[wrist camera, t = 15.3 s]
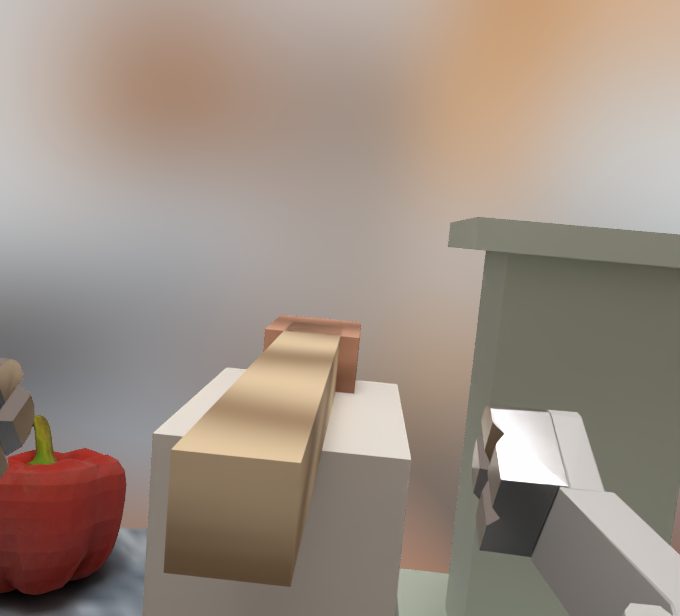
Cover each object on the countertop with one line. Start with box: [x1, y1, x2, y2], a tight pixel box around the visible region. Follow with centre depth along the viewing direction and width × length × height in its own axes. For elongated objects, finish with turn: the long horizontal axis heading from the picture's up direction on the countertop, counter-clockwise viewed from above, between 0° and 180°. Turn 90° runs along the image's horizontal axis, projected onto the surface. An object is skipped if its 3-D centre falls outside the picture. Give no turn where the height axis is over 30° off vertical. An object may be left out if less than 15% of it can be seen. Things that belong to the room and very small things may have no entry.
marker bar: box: [164, 315, 361, 587], centre depth 21 cm, size 20×4×2 cm, turn 177°
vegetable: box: [0, 415, 126, 595], centre depth 42 cm, size 11×10×10 cm
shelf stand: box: [395, 217, 680, 616], centre depth 35 cm, size 14×16×26 cm
